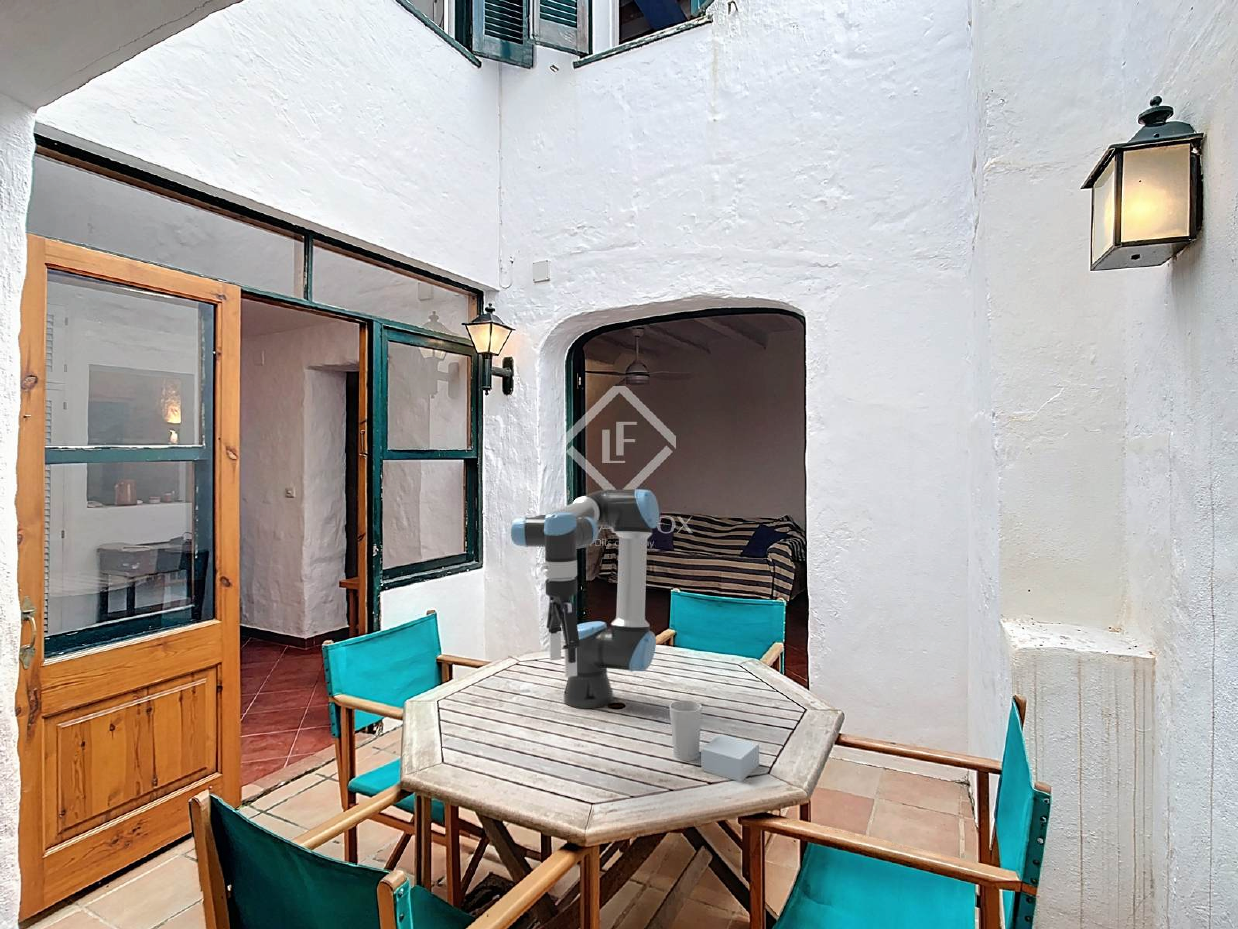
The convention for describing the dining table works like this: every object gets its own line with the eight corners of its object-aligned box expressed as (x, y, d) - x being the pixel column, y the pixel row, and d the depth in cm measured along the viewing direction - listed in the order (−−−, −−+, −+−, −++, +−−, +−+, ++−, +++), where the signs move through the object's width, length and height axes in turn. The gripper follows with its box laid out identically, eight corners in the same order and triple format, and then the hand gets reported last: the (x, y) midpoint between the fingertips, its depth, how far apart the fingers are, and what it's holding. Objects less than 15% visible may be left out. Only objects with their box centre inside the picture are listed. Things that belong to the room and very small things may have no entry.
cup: (664, 751, 160) (663, 703, 160) (693, 745, 162) (692, 698, 163) (678, 764, 152) (677, 714, 152) (708, 758, 155) (707, 709, 155)
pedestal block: (721, 754, 157) (720, 734, 157) (759, 765, 151) (758, 743, 151) (701, 770, 149) (701, 748, 149) (740, 782, 143) (740, 759, 143)
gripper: (533, 571, 162) (535, 655, 162) (559, 588, 139) (561, 686, 139) (562, 569, 165) (563, 651, 165) (592, 585, 142) (594, 681, 142)
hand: (562, 667), depth 152 cm, fingers open, 13 cm apart
